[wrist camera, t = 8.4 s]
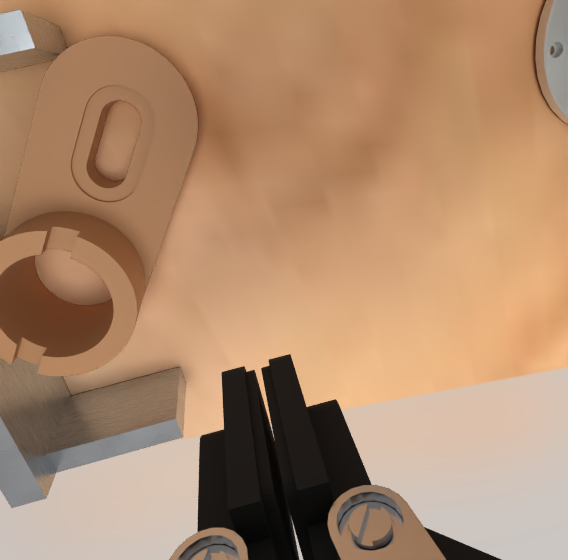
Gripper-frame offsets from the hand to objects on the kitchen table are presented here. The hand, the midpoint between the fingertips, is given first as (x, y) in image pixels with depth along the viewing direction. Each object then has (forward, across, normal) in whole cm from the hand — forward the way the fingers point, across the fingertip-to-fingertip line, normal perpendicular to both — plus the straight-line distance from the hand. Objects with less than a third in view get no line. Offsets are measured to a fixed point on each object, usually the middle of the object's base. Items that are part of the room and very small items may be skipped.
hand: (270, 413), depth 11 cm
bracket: (+22, +8, -3) cm, 23 cm away
